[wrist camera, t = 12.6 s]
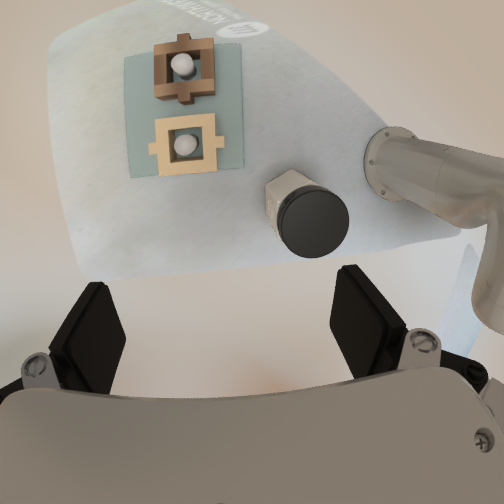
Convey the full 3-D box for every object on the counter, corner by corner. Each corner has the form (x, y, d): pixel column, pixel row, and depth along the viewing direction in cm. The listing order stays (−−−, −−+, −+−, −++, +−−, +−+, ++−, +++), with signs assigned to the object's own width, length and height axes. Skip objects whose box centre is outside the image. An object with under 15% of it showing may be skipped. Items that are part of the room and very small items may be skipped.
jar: (263, 169, 38) (280, 186, 27) (317, 168, 39) (352, 186, 28) (264, 227, 42) (279, 265, 31) (315, 224, 43) (345, 259, 32)
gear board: (239, 46, 30) (243, 29, 23) (243, 166, 38) (247, 175, 31) (127, 60, 28) (108, 48, 22) (133, 176, 36) (115, 187, 30)
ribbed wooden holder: (214, 42, 28) (213, 30, 23) (215, 102, 32) (214, 98, 27) (162, 48, 27) (154, 38, 23) (163, 107, 31) (154, 105, 27)
